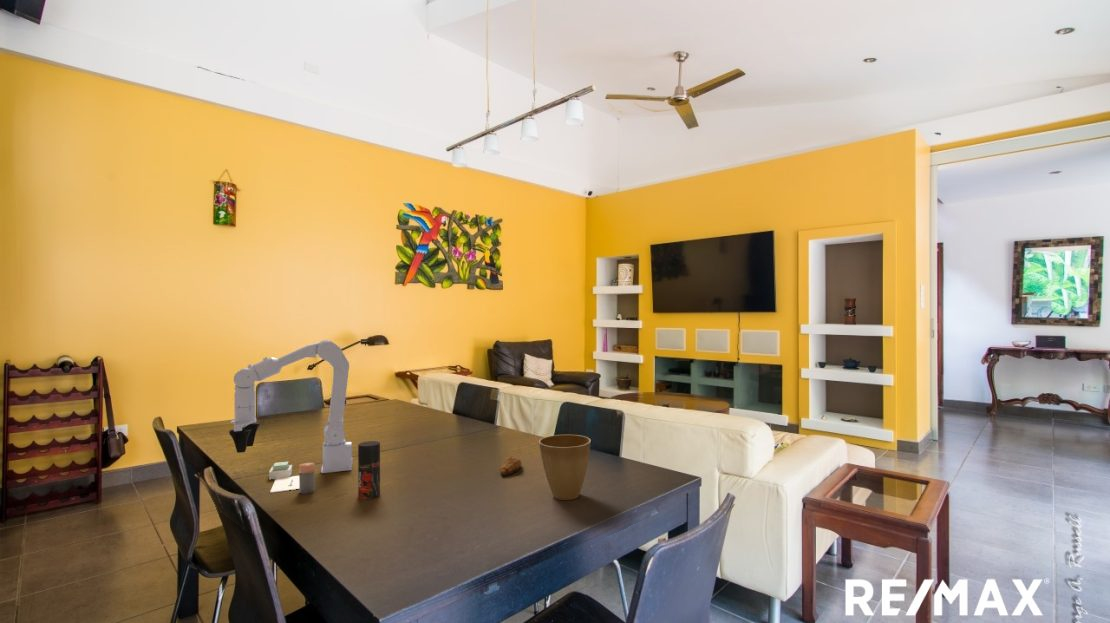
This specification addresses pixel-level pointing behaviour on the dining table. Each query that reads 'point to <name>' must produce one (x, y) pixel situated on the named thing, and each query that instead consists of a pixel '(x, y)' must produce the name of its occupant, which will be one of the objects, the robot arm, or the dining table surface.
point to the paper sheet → (285, 484)
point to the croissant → (510, 466)
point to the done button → (280, 466)
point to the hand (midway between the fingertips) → (245, 449)
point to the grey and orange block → (306, 478)
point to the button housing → (280, 473)
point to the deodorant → (368, 469)
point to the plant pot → (565, 463)
